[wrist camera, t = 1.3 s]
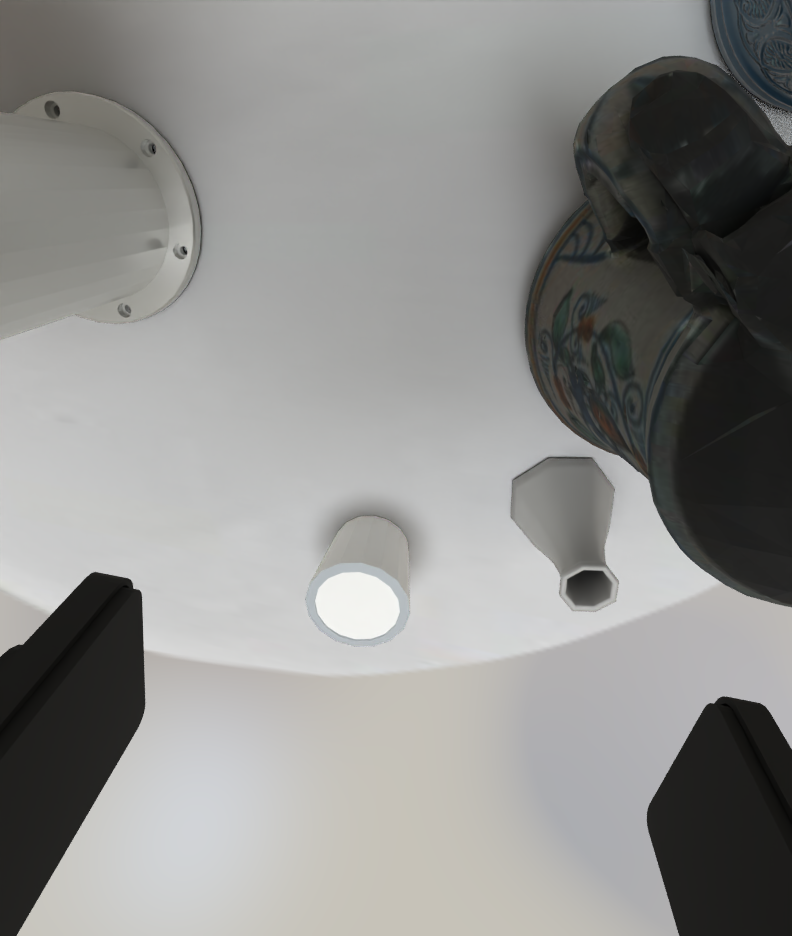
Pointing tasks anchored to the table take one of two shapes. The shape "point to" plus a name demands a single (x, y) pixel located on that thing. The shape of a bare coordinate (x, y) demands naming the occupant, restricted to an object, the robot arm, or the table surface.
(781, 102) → the canister
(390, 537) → the grey cylinder
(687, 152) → the beer stein
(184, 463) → the table surface
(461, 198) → the table surface
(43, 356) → the table surface
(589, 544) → the flask
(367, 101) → the table surface
